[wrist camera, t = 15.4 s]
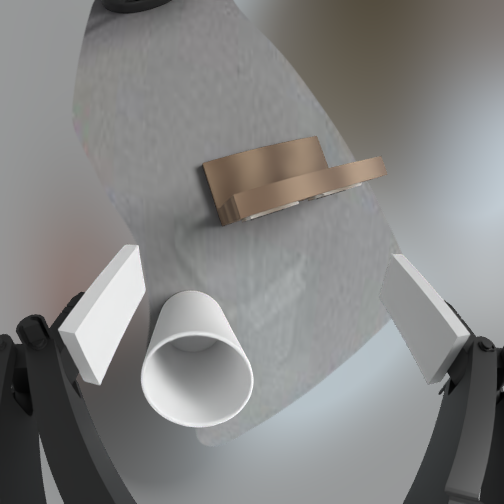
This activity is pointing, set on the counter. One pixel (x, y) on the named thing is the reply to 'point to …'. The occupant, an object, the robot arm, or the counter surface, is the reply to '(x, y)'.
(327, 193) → the label board
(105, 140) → the counter surface
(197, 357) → the cup
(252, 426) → the counter surface
